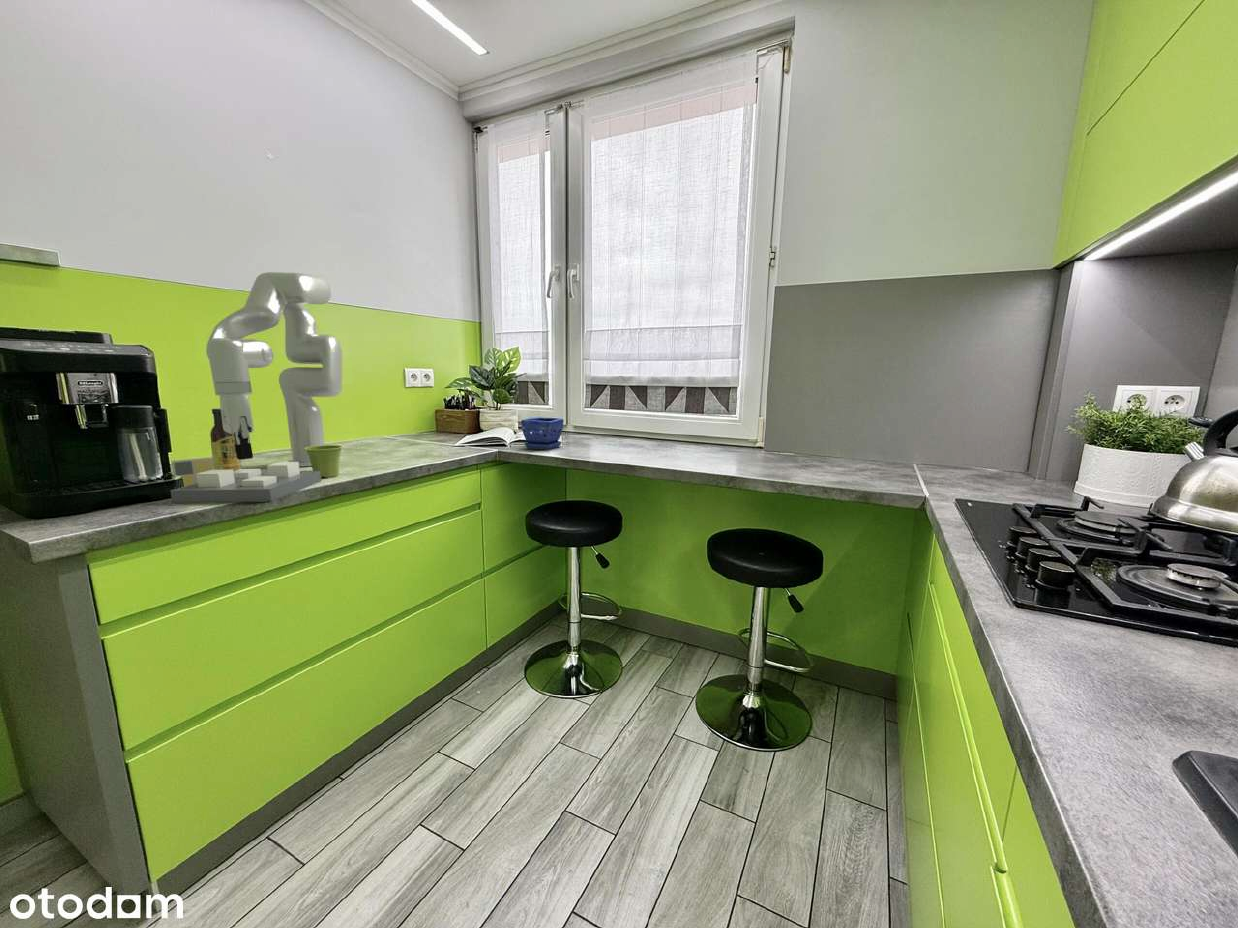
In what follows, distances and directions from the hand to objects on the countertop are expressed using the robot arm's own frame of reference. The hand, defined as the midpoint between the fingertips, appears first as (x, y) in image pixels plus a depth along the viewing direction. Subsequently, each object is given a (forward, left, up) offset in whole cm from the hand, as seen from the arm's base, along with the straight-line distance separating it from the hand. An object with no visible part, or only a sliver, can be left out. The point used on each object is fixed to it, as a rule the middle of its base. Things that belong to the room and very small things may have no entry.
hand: (245, 458), depth 128 cm
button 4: (+1, +10, -5) cm, 11 cm away
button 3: (+11, +10, -7) cm, 16 cm away
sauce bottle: (-13, -14, -8) cm, 21 cm away
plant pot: (-12, +14, -8) cm, 20 cm away
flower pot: (-64, +73, -8) cm, 97 cm away
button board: (+6, +5, -8) cm, 11 cm away
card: (+3, -11, -8) cm, 14 cm away
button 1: (+11, 0, -5) cm, 12 cm away
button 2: (+1, 0, -7) cm, 7 cm away
